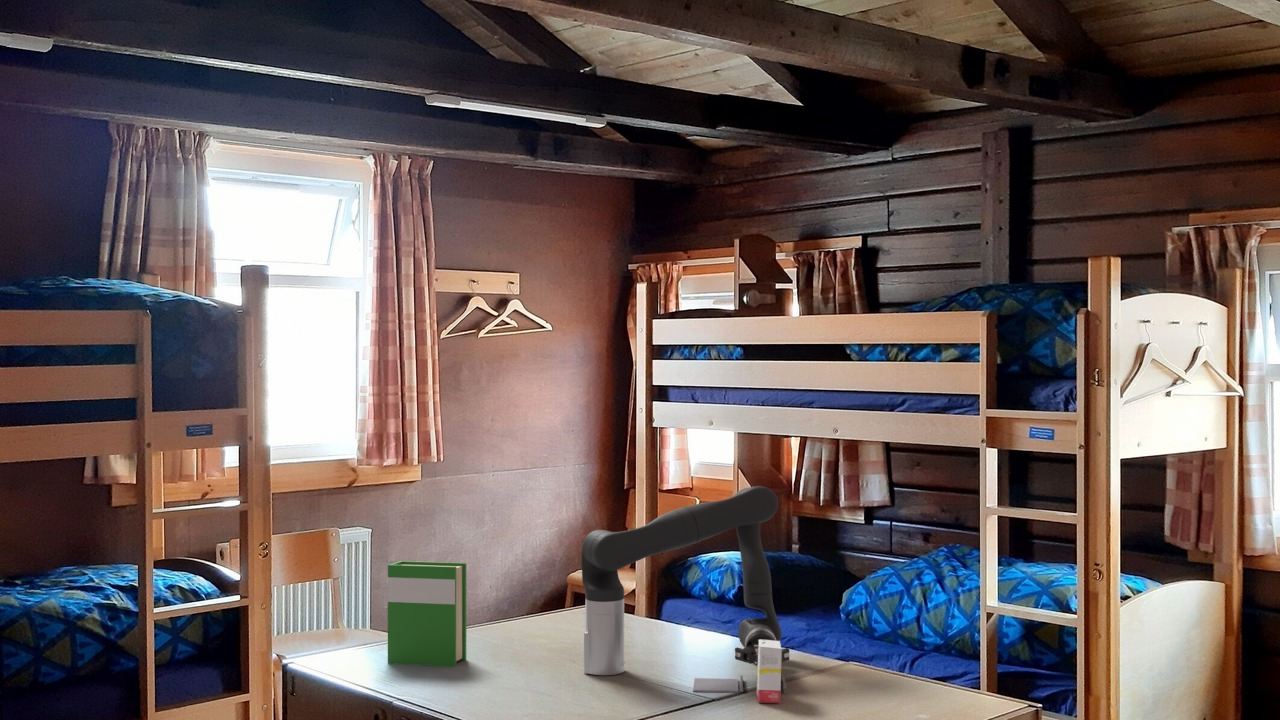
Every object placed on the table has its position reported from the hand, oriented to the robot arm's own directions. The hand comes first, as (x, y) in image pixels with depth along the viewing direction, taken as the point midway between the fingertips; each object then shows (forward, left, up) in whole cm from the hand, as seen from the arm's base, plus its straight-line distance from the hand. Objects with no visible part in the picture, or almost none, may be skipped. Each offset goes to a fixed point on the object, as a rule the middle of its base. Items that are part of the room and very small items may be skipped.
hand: (763, 662), depth 262 cm
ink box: (+1, -4, -7) cm, 8 cm away
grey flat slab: (-5, +6, -7) cm, 11 cm away
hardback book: (-82, +27, -7) cm, 86 cm away
